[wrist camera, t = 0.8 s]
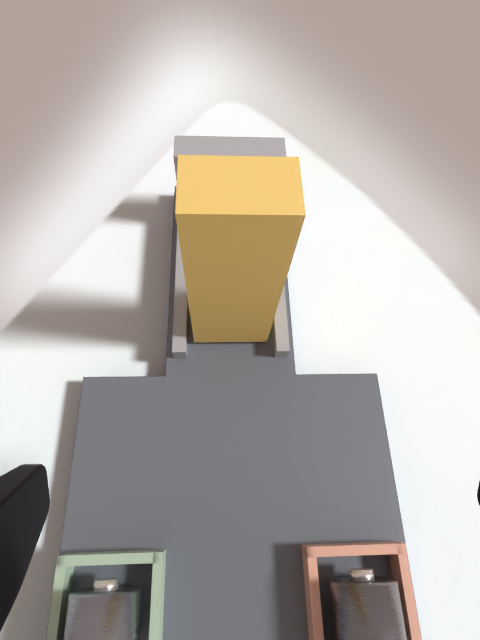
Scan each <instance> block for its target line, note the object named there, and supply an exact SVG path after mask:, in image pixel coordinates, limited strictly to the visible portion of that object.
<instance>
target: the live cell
mask: <svg viewBox="0 0 480 640" xmlns="http://www.w3.org/2000/svg"><path fill="white" fill-rule="evenodd" d="M140 597H141V588H140V587H139V586H135V585H119V578H116V577H109V578H100V579H95V580H94V585H93V587H88V588H83V589H78V590H75V591H72V592H70V593H69V597H68V605H67V613H66V622H65V630H64V638H63V640H138V630H139V614H140Z"/></svg>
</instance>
